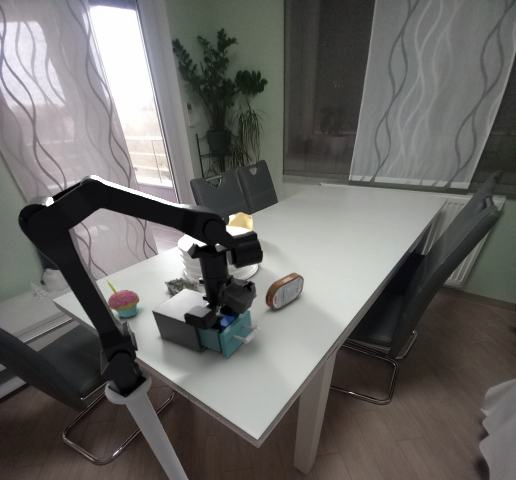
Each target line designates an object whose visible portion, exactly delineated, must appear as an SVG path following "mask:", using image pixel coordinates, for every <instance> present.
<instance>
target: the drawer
mask: <svg viewBox="0 0 516 480" xmlns="http://www.w3.org/2000/svg"><path fill="white" fill-rule="evenodd" d="M219 310H220V311H219V313H221V314H223V313H222V310H221V308H220V309H219ZM251 316H252V315H251V310H249V309H247V310H246V311H245V313H244V314H239V313H237V312H236V311H235V313H234V318H235V321H233V322H232V323H231V324H230V325H229V326H228V327H227V328H226V329H225V330H224V331H223V332H222V333H221V334H220V335H219V330H216V329H213V328H211V327H210V328H209V329H208V330H202V329H199V328H197V332H198V336H199V340H200V344H201V345H202V346H205V348H208V349H210V350H213V351H215V352H218V353H222V356H223V358H226V359H229V357H231V355H233V353H234V352H235V351H236V350H237V349H238V348H239V346H240V345H241V344H242V343H244V344H245V345H248V344H249V343H250V342H251V341H253V339H254V338H255V337H256V335H257V334H258V333H259V332H260V328H259V327H258V326H255V327H253V326H252V317H251Z"/></svg>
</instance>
